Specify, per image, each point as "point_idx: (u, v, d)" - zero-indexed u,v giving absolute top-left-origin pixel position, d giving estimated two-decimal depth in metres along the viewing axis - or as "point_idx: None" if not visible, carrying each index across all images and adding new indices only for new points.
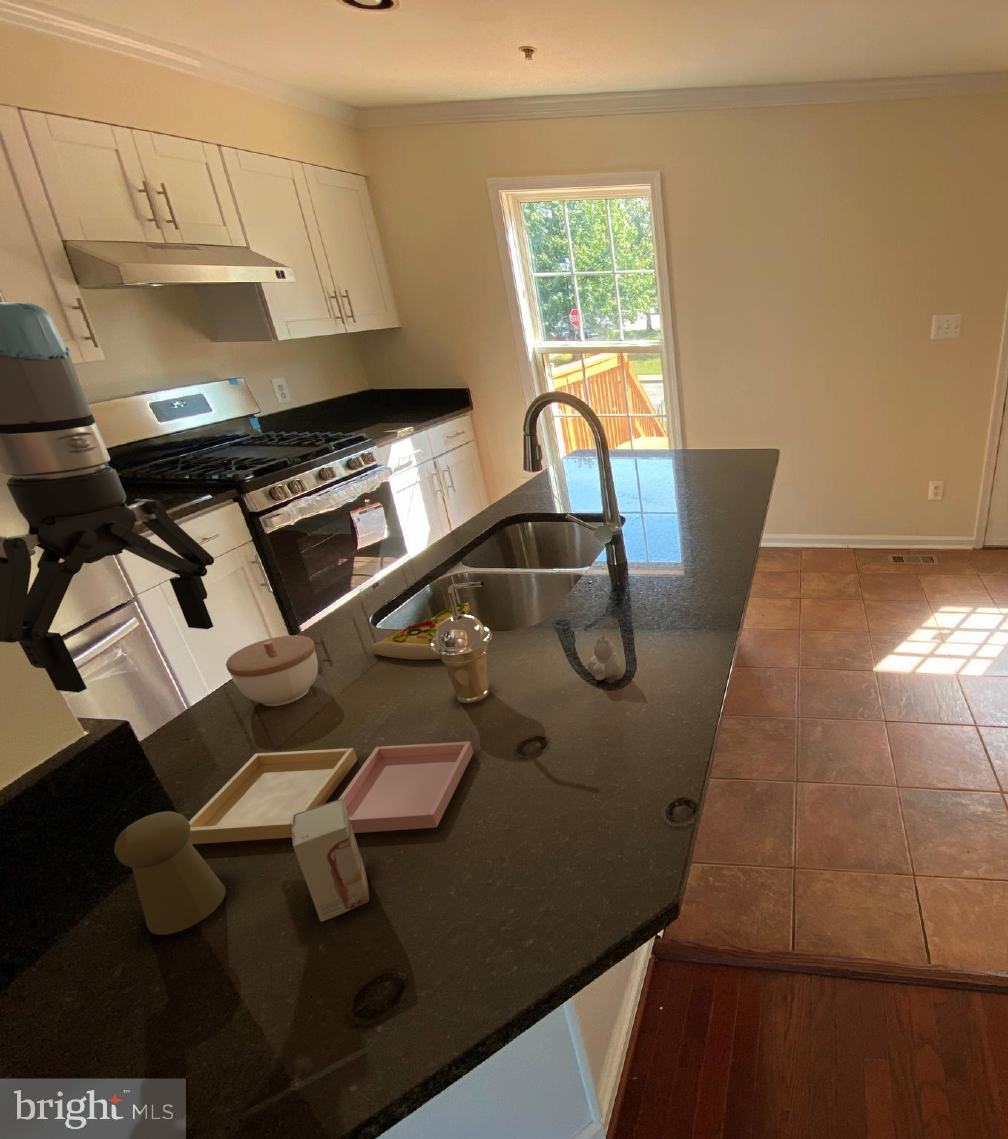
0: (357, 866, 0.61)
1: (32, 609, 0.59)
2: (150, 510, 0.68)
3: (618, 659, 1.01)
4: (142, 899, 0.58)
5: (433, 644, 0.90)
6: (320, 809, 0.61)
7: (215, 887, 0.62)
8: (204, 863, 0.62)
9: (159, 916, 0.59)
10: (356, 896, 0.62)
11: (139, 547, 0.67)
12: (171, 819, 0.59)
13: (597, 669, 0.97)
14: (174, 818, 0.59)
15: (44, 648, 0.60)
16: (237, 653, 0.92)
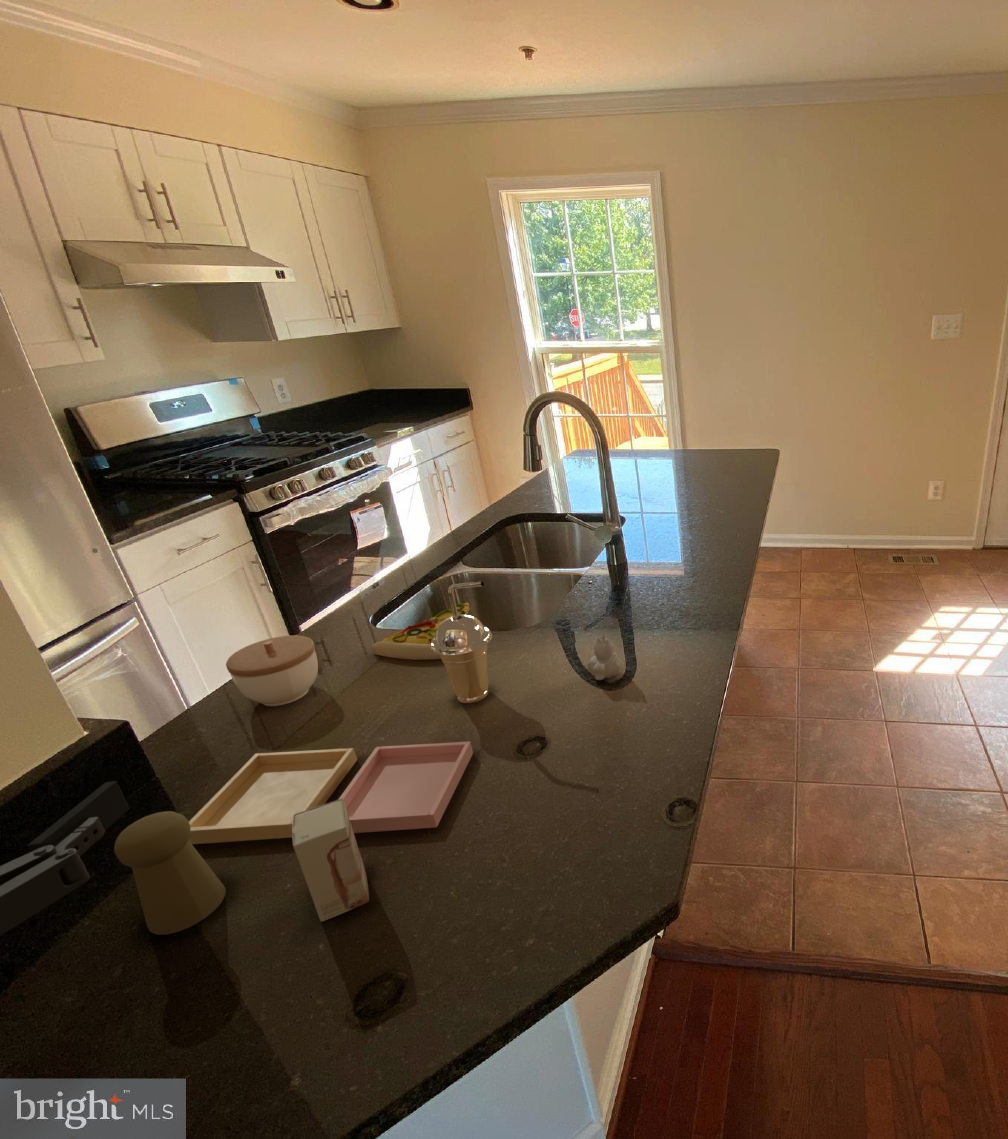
0: (357, 866, 0.61)
1: None
2: None
3: (618, 659, 1.01)
4: (142, 899, 0.58)
5: (433, 644, 0.90)
6: (320, 809, 0.61)
7: (215, 887, 0.62)
8: (204, 863, 0.62)
9: (159, 916, 0.59)
10: (356, 896, 0.62)
11: None
12: (171, 819, 0.59)
13: (597, 669, 0.97)
14: (174, 818, 0.59)
15: None
16: (237, 653, 0.92)
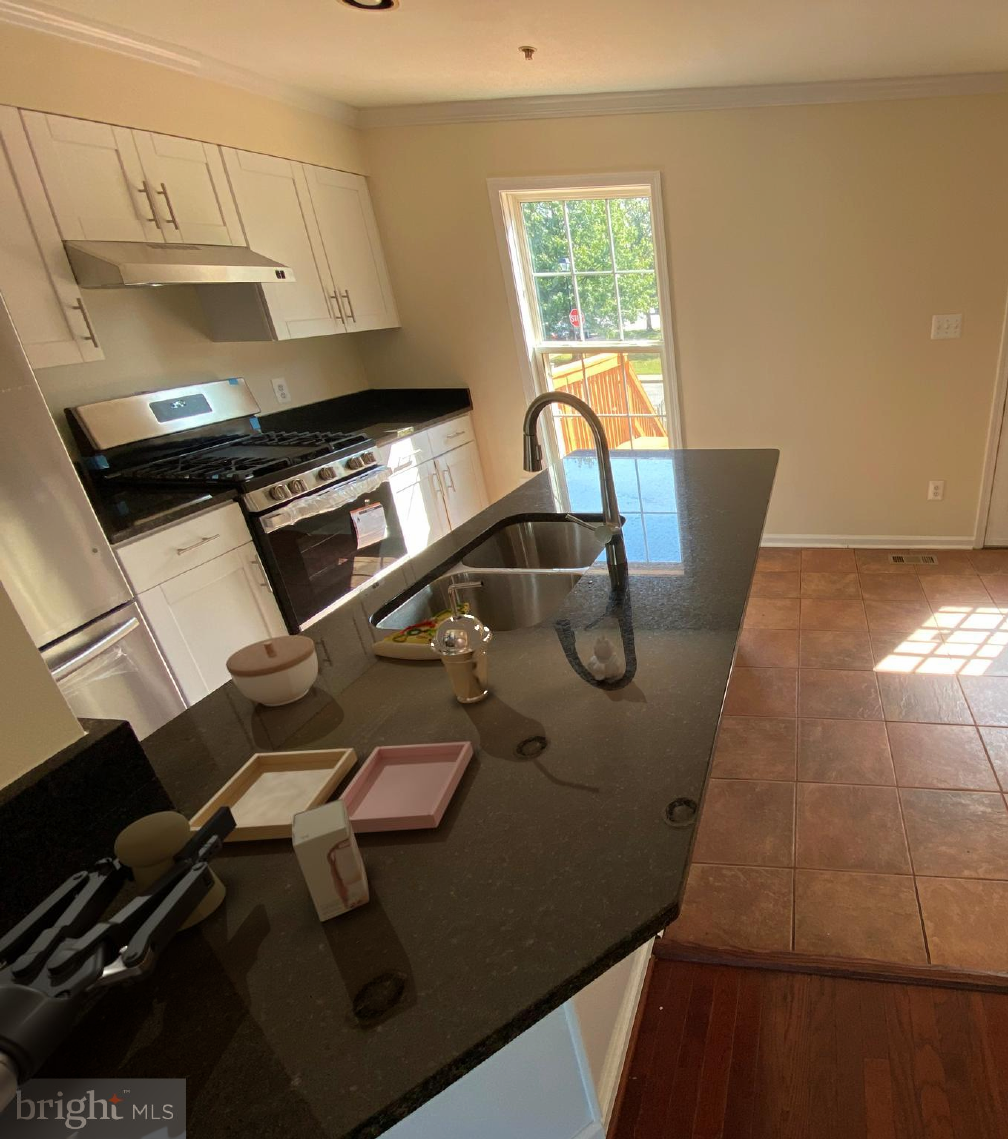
0: (357, 866, 0.61)
1: None
2: None
3: (618, 659, 1.01)
4: None
5: (433, 644, 0.90)
6: (320, 809, 0.61)
7: (215, 887, 0.62)
8: None
9: None
10: (356, 896, 0.62)
11: (110, 951, 0.52)
12: (171, 819, 0.59)
13: (597, 669, 0.97)
14: (174, 818, 0.59)
15: None
16: (237, 653, 0.92)
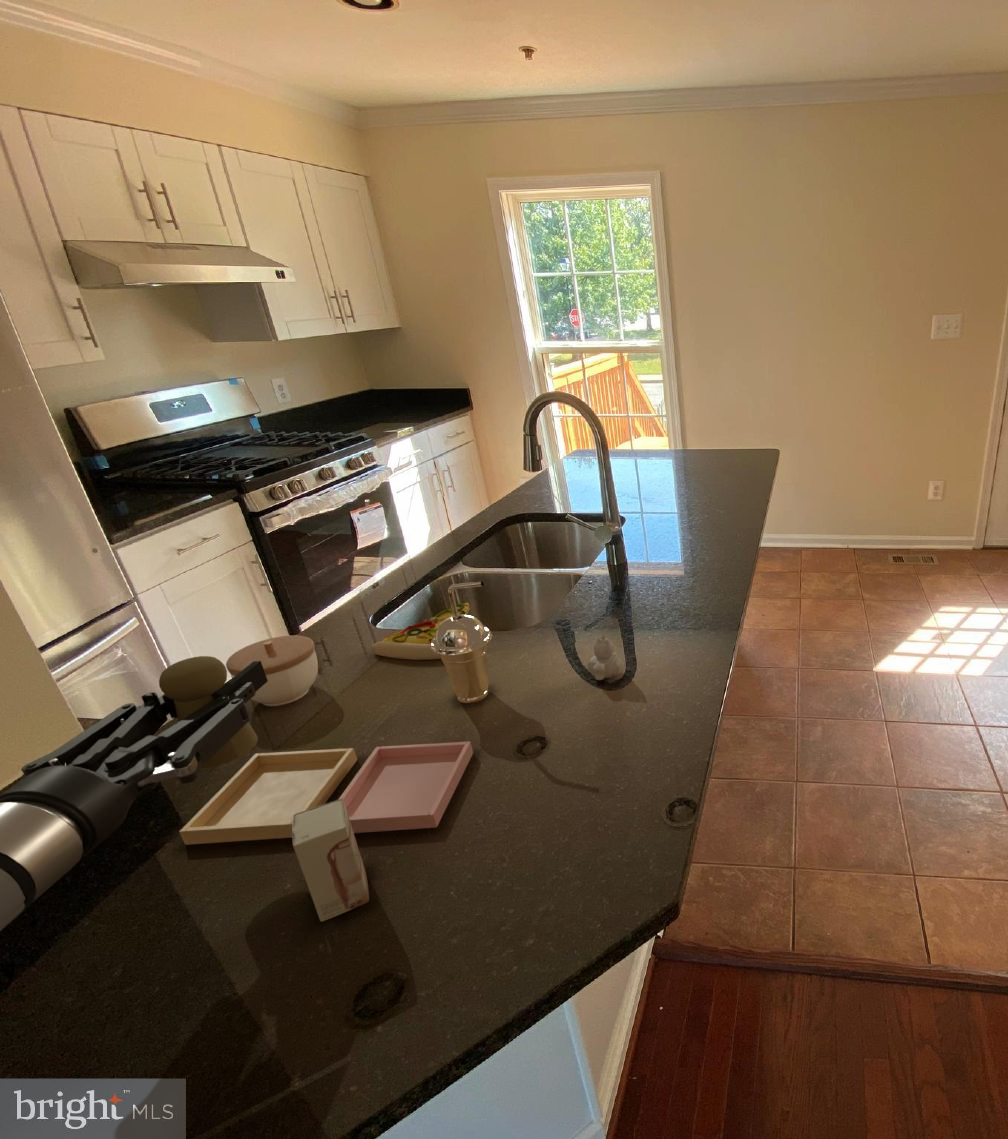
0: (357, 866, 0.61)
1: None
2: None
3: (618, 659, 1.01)
4: None
5: (433, 644, 0.90)
6: (320, 809, 0.61)
7: (248, 732, 0.67)
8: None
9: None
10: (356, 896, 0.62)
11: None
12: (210, 661, 0.64)
13: (597, 669, 0.97)
14: (212, 660, 0.64)
15: None
16: (237, 653, 0.92)
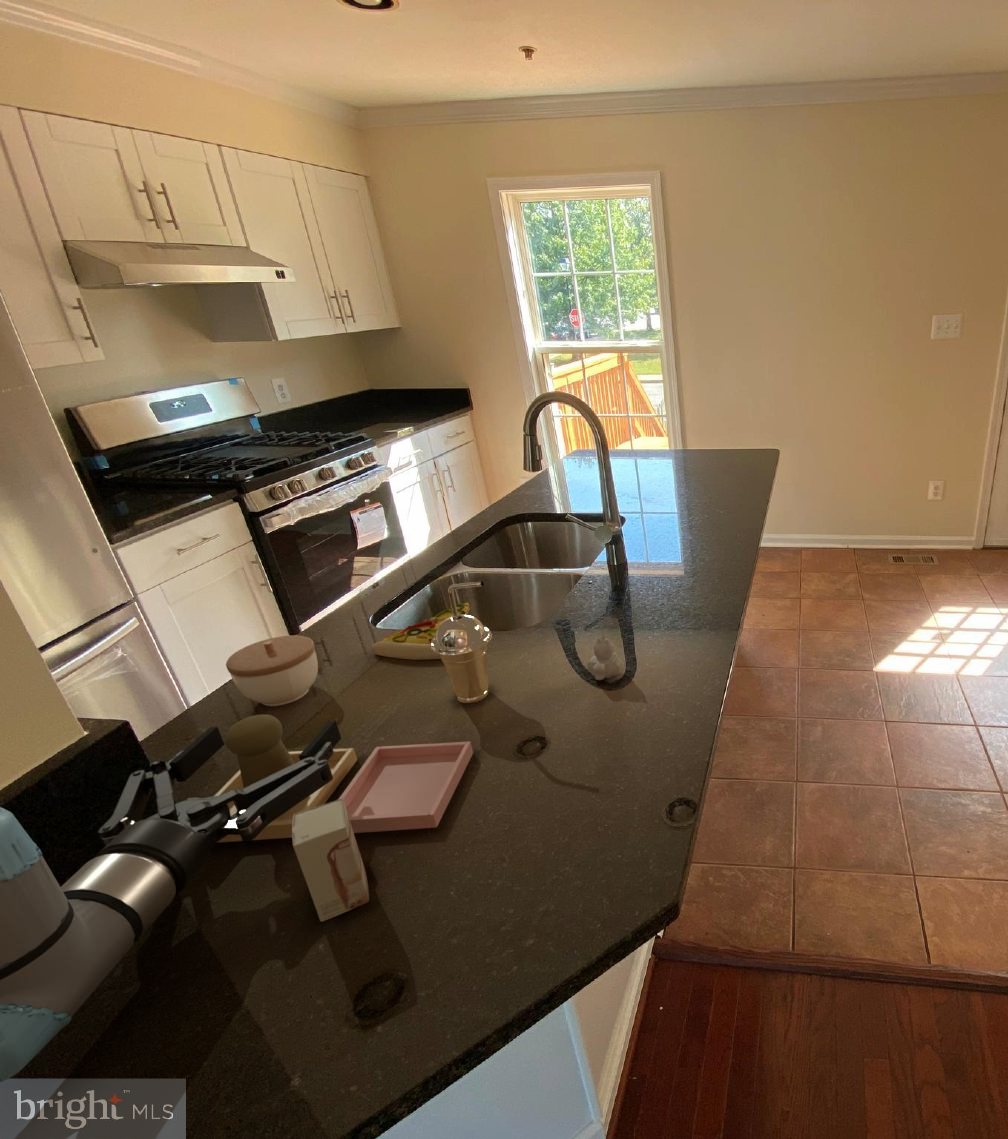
0: (357, 866, 0.61)
1: None
2: None
3: (618, 659, 1.01)
4: (245, 784, 0.72)
5: (433, 644, 0.90)
6: (320, 809, 0.61)
7: None
8: (291, 759, 0.75)
9: None
10: (356, 896, 0.62)
11: None
12: (269, 719, 0.72)
13: (597, 669, 0.97)
14: (270, 718, 0.72)
15: None
16: (237, 653, 0.92)
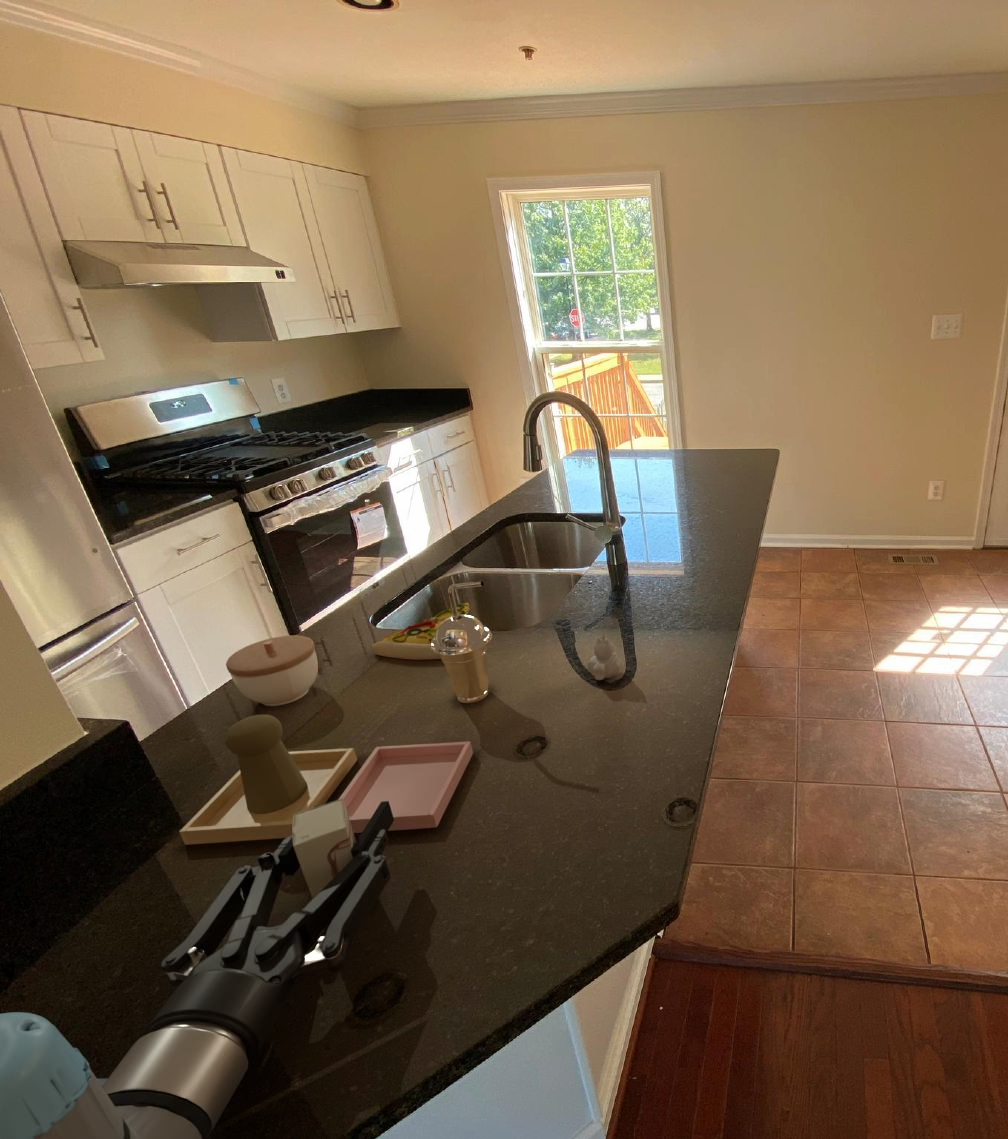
0: None
1: None
2: None
3: (618, 659, 1.01)
4: (245, 784, 0.72)
5: (433, 644, 0.90)
6: (320, 809, 0.61)
7: (300, 780, 0.76)
8: (291, 759, 0.75)
9: (258, 798, 0.72)
10: None
11: (301, 939, 0.54)
12: (268, 719, 0.72)
13: (597, 669, 0.97)
14: (270, 718, 0.72)
15: None
16: (237, 653, 0.92)
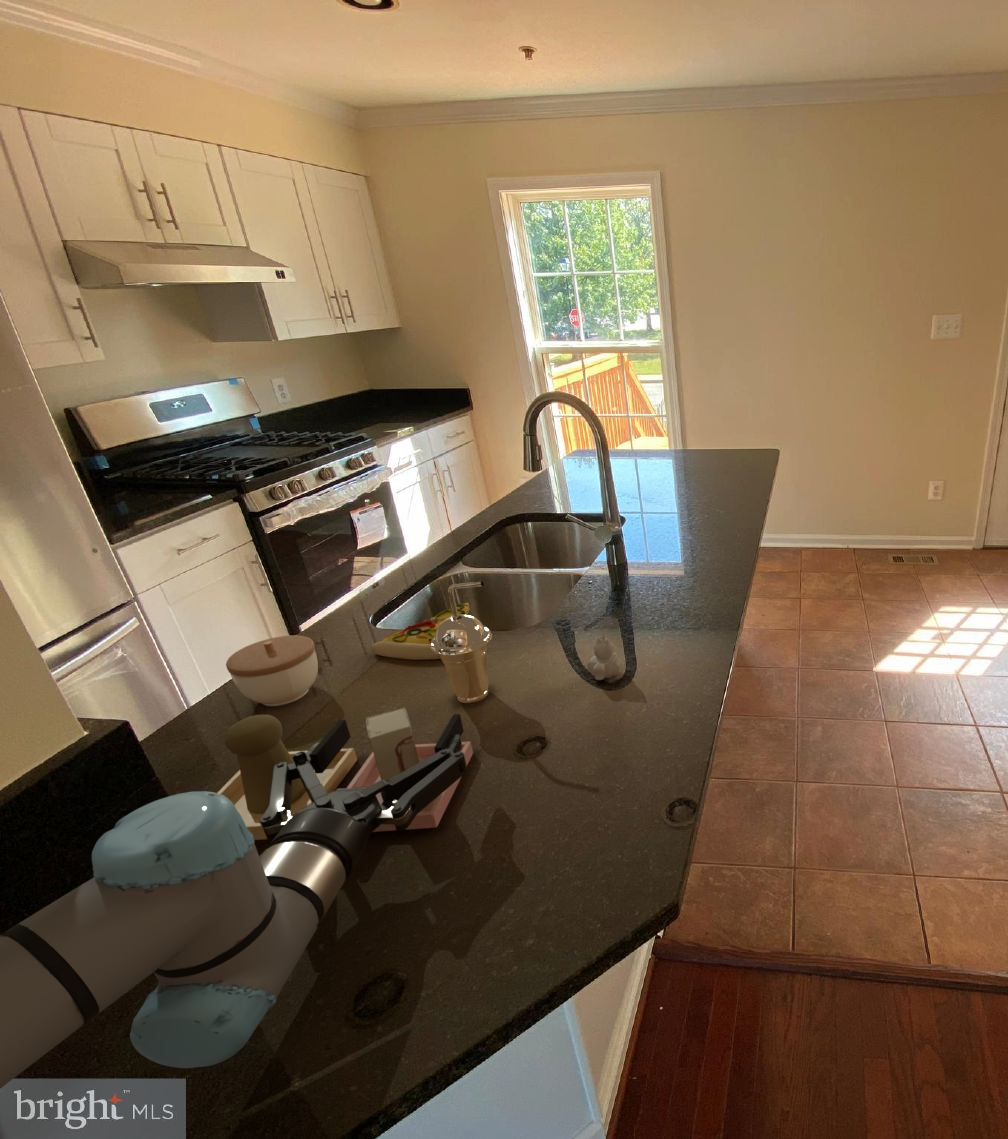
0: (418, 760, 0.74)
1: (302, 781, 0.68)
2: None
3: (618, 659, 1.01)
4: (245, 784, 0.72)
5: (433, 644, 0.90)
6: (387, 714, 0.75)
7: (300, 780, 0.76)
8: (291, 759, 0.75)
9: (258, 798, 0.72)
10: None
11: None
12: (268, 719, 0.72)
13: (597, 669, 0.97)
14: (270, 718, 0.72)
15: None
16: (237, 653, 0.92)
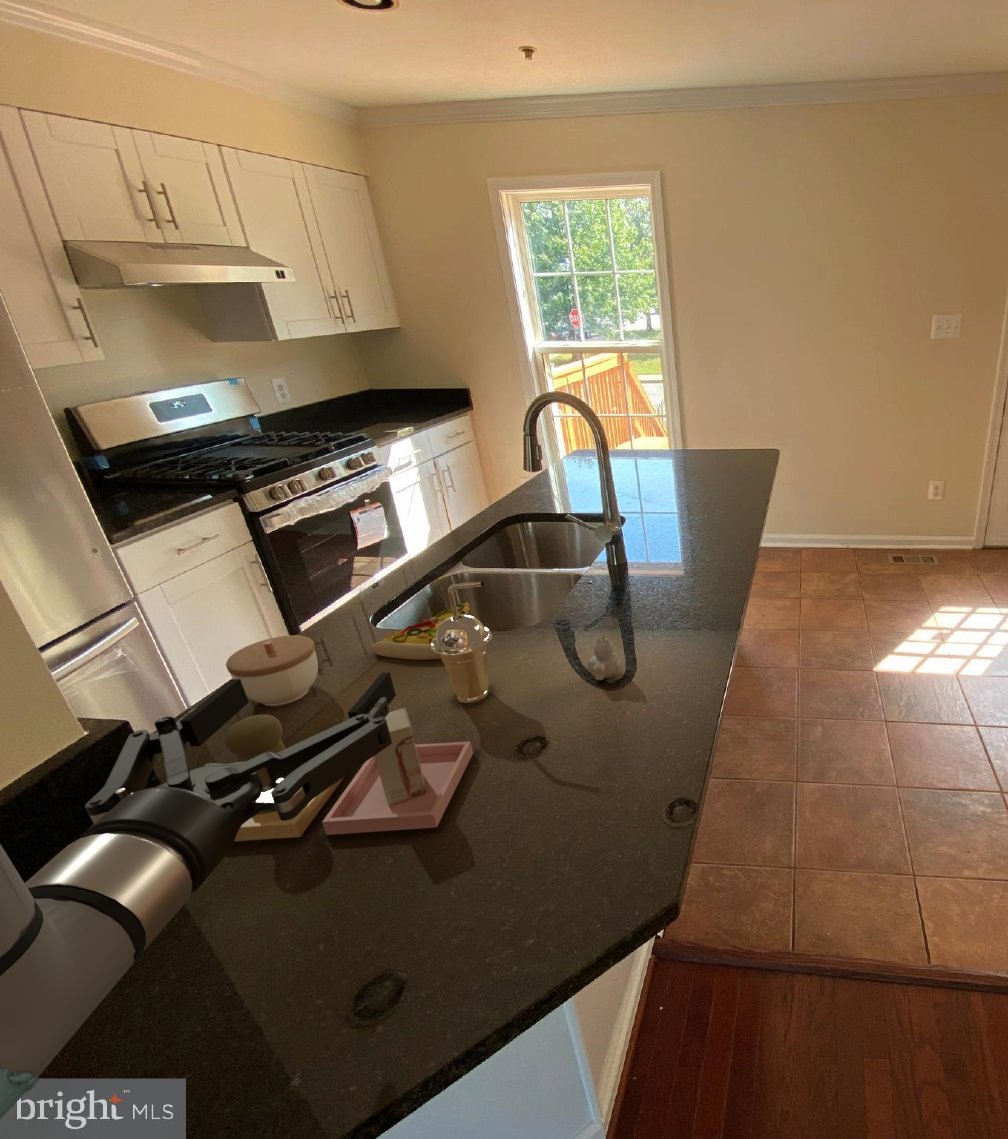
0: (418, 760, 0.74)
1: None
2: None
3: (618, 659, 1.01)
4: None
5: (433, 644, 0.90)
6: None
7: None
8: None
9: None
10: (416, 786, 0.75)
11: None
12: (268, 719, 0.72)
13: (597, 669, 0.97)
14: (270, 718, 0.72)
15: None
16: (237, 653, 0.92)
